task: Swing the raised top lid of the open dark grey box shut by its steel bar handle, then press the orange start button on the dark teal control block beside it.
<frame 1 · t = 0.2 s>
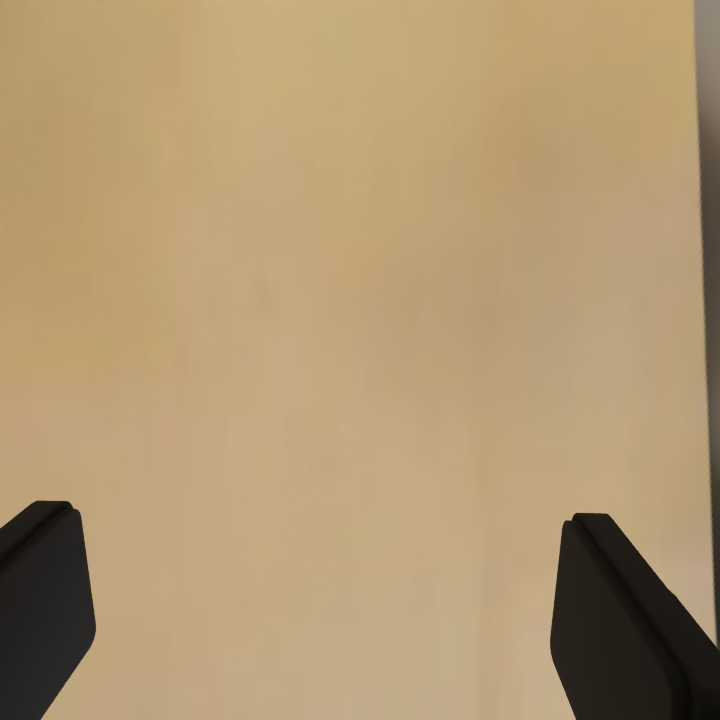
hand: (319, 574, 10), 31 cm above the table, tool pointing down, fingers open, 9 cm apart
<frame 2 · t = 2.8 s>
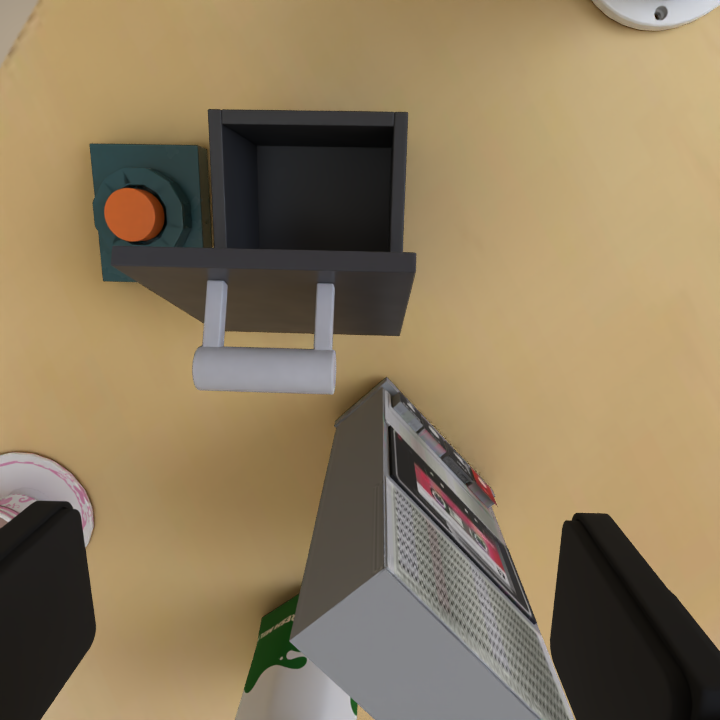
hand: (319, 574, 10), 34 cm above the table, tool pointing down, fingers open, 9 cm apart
control block: (160, 215, 42), on the table
milk carton: (313, 622, 51), on the table
start button: (135, 215, 38), point 4 cm above the table, slide at 0.1 cm
ribbed grey cuboid: (415, 452, 46), on the table
open dark grey box: (324, 223, 42), on the table
teacup: (32, 509, 49), on the table
lid: (287, 345, 26), point 17 cm above the table, hinge at 68.0°
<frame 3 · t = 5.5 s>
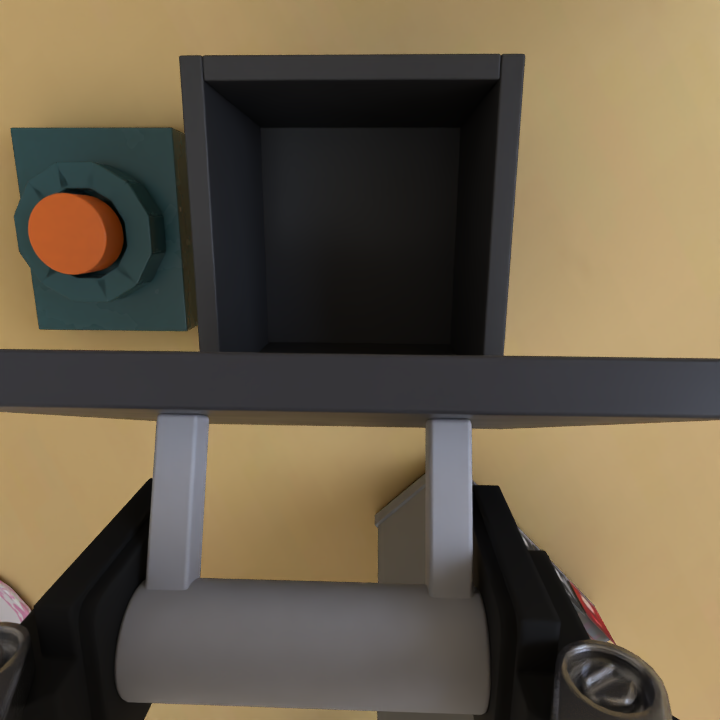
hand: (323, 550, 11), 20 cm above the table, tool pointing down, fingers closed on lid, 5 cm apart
control block: (122, 233, 29), on the table
start button: (77, 234, 25), point 4 cm above the table, slide at 0.1 cm
ribbed grey cuboid: (486, 554, 33), on the table
open dark grey box: (359, 240, 29), on the table
lid: (334, 496, 13), point 17 cm above the table, hinge at 68.0°, touching gripper
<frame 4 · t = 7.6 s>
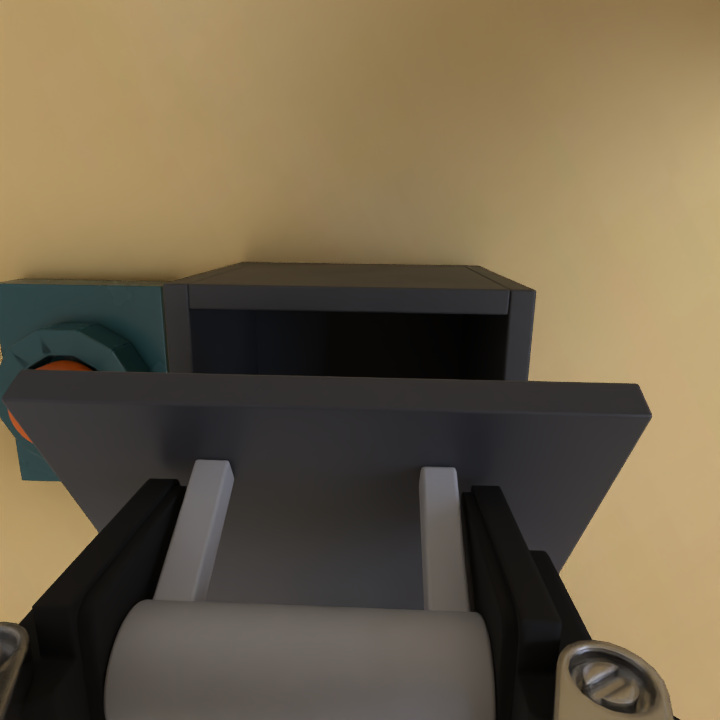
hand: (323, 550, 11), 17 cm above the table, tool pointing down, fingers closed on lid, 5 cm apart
control block: (109, 376, 28), on the table
start button: (59, 404, 24), point 4 cm above the table, slide at 0.1 cm
open dark grey box: (358, 387, 28), on the table
lid: (329, 646, 13), point 16 cm above the table, hinge at 30.5°, touching gripper
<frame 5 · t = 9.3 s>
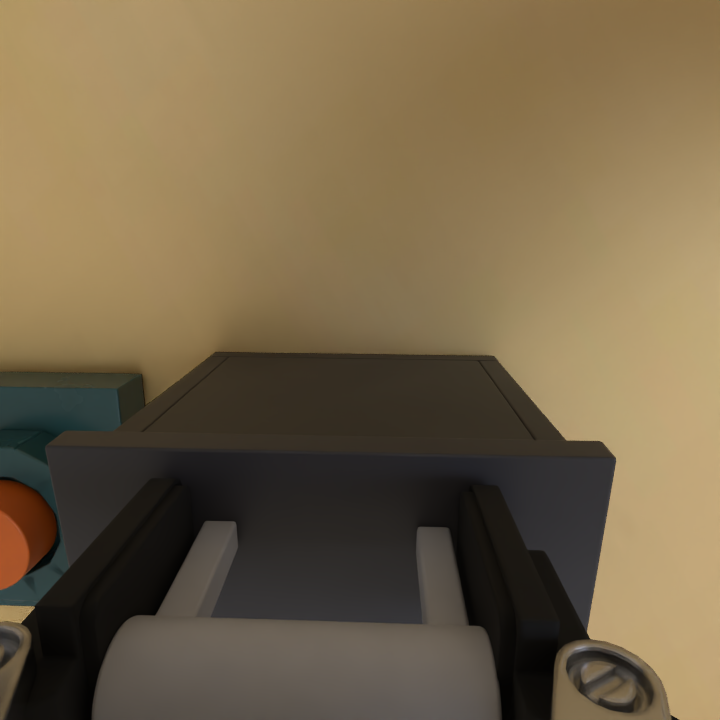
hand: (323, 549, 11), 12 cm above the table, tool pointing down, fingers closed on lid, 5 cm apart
control block: (65, 478, 24), on the table
open dark grey box: (353, 491, 24), on the table
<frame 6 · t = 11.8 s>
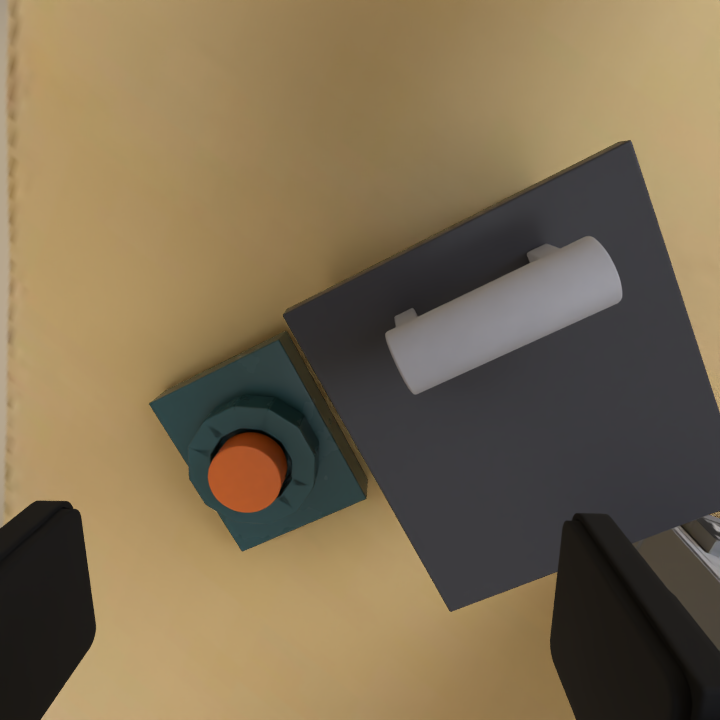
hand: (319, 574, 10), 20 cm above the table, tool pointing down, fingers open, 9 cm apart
control block: (267, 435, 31), on the table
start button: (248, 471, 27), point 4 cm above the table, slide at 0.1 cm
lid: (543, 437, 16), point 13 cm above the table, hinge at 3.6°
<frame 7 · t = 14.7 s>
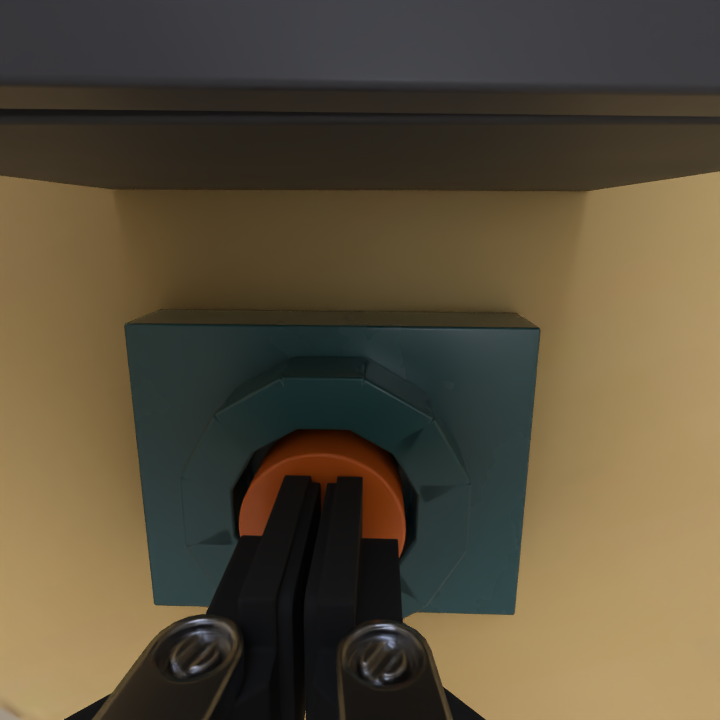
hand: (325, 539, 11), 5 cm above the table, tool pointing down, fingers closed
control block: (337, 444, 16), on the table
start button: (325, 509, 12), point 4 cm above the table, slide at -0.6 cm, touching gripper
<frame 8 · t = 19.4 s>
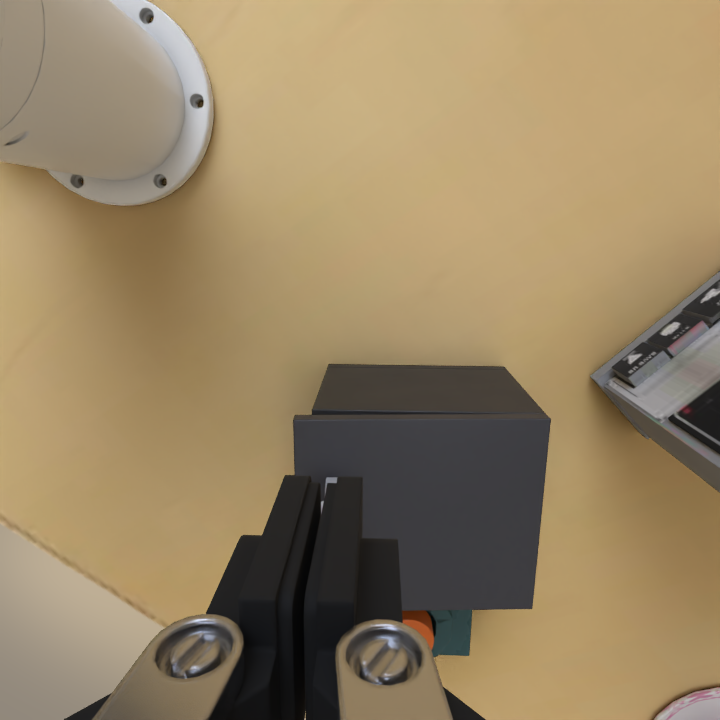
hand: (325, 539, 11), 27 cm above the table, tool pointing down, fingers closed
control block: (405, 591, 43), on the table
start button: (407, 632, 39), point 4 cm above the table, slide at 0.1 cm
ribbed grey cuboid: (692, 337, 37), on the table
open dark grey box: (413, 440, 40), on the table
lid: (424, 539, 27), point 13 cm above the table, hinge at 3.6°
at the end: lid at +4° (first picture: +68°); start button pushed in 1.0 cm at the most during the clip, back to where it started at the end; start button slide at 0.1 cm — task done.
